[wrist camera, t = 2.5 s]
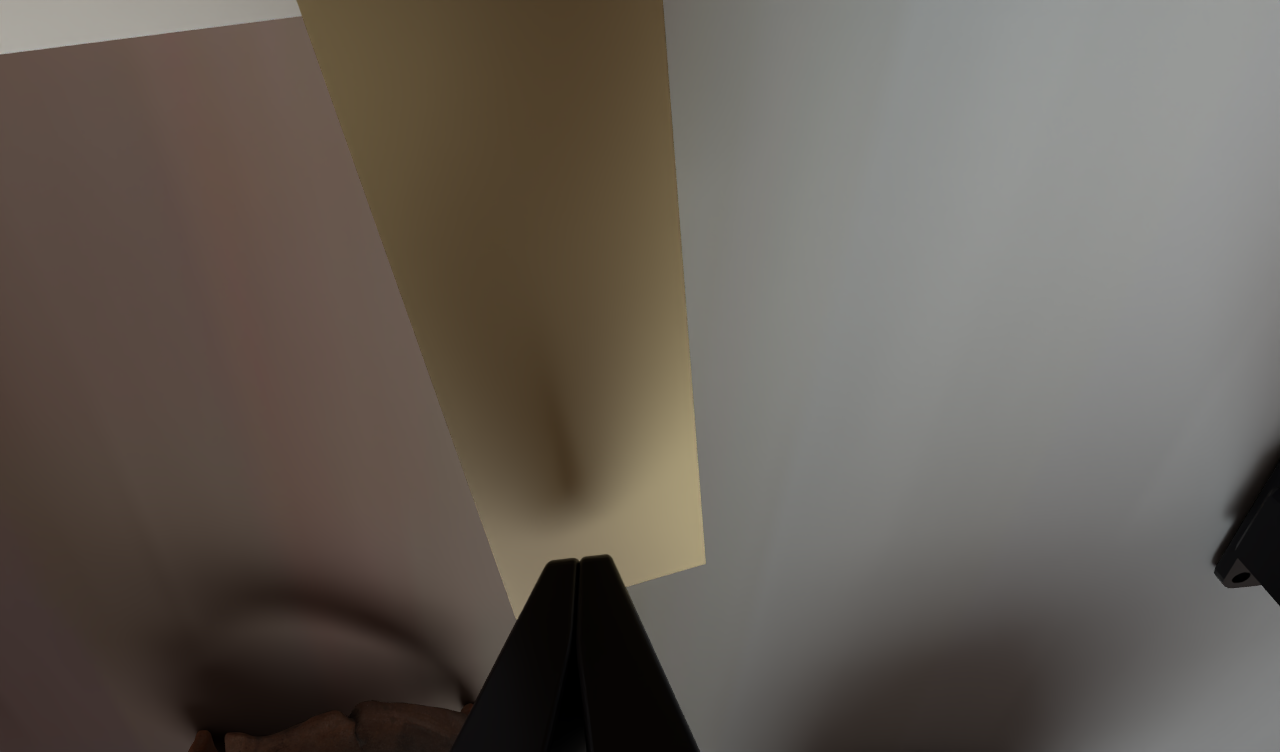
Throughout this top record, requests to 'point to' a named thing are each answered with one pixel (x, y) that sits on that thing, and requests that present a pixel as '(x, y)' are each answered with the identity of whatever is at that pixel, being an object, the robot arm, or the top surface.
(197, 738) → the pottery mug
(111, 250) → the top surface
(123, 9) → the dish
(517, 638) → the robot arm
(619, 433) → the tan flat board
